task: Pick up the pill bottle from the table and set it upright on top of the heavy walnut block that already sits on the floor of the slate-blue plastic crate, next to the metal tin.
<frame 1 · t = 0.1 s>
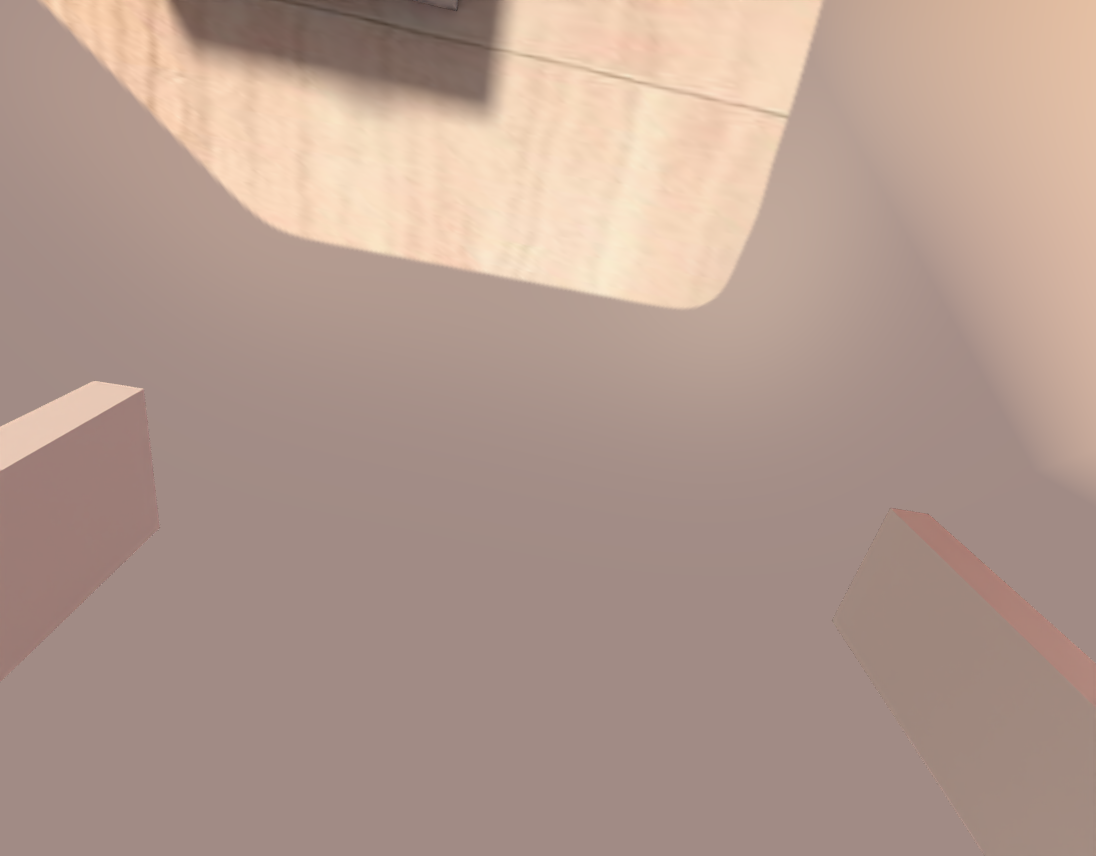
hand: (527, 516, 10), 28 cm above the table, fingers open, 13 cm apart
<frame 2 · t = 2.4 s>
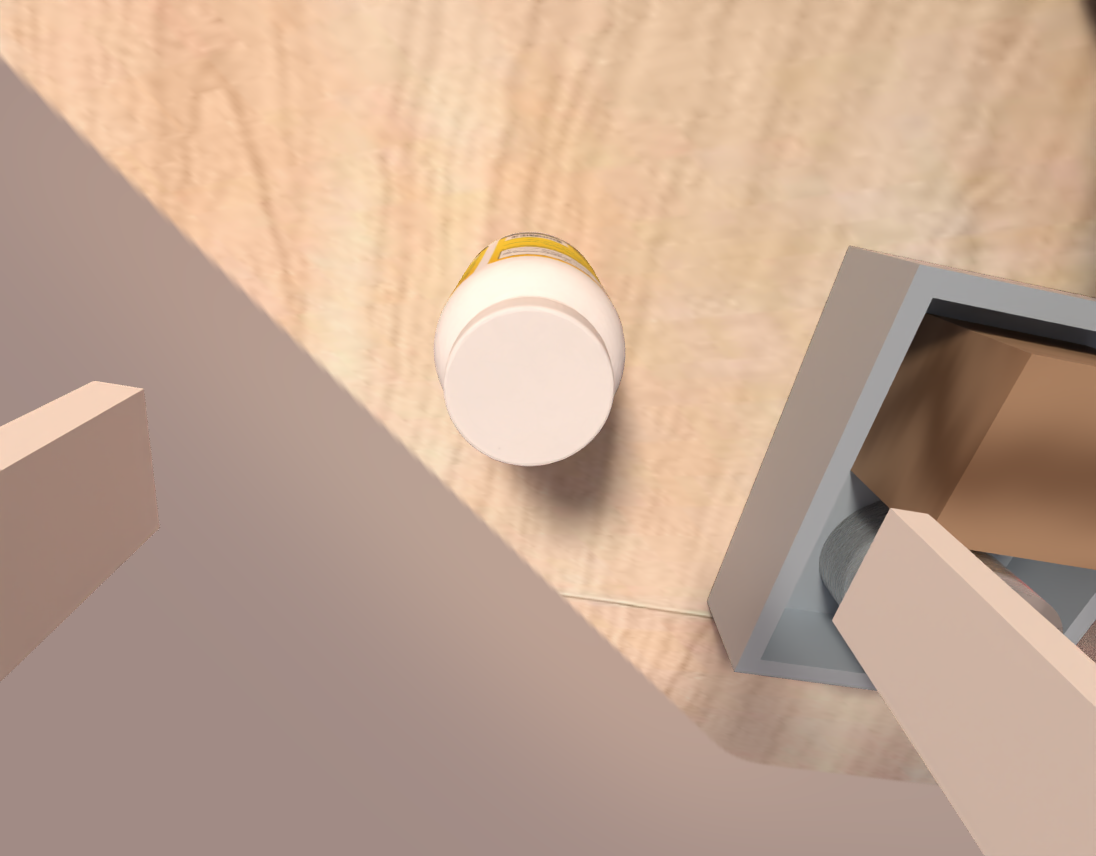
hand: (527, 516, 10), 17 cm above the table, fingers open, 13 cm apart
metal tin: (884, 553, 31), point 1 cm above the table, touching crate
pill bottle: (531, 301, 26), on the table
walnut block: (962, 410, 27), point 1 cm above the table, touching crate
crate: (914, 474, 29), on the table
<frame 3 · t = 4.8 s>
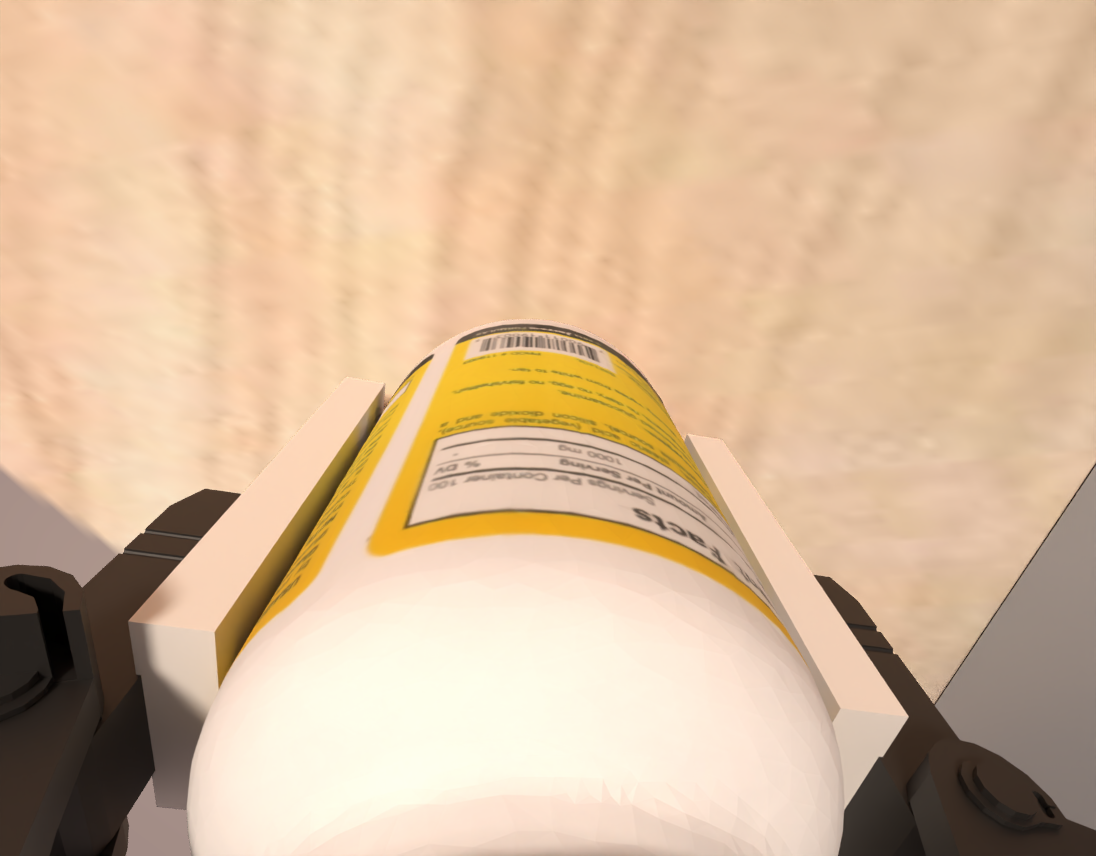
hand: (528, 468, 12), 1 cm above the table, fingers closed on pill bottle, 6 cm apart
pill bottle: (529, 443, 13), on the table, touching gripper
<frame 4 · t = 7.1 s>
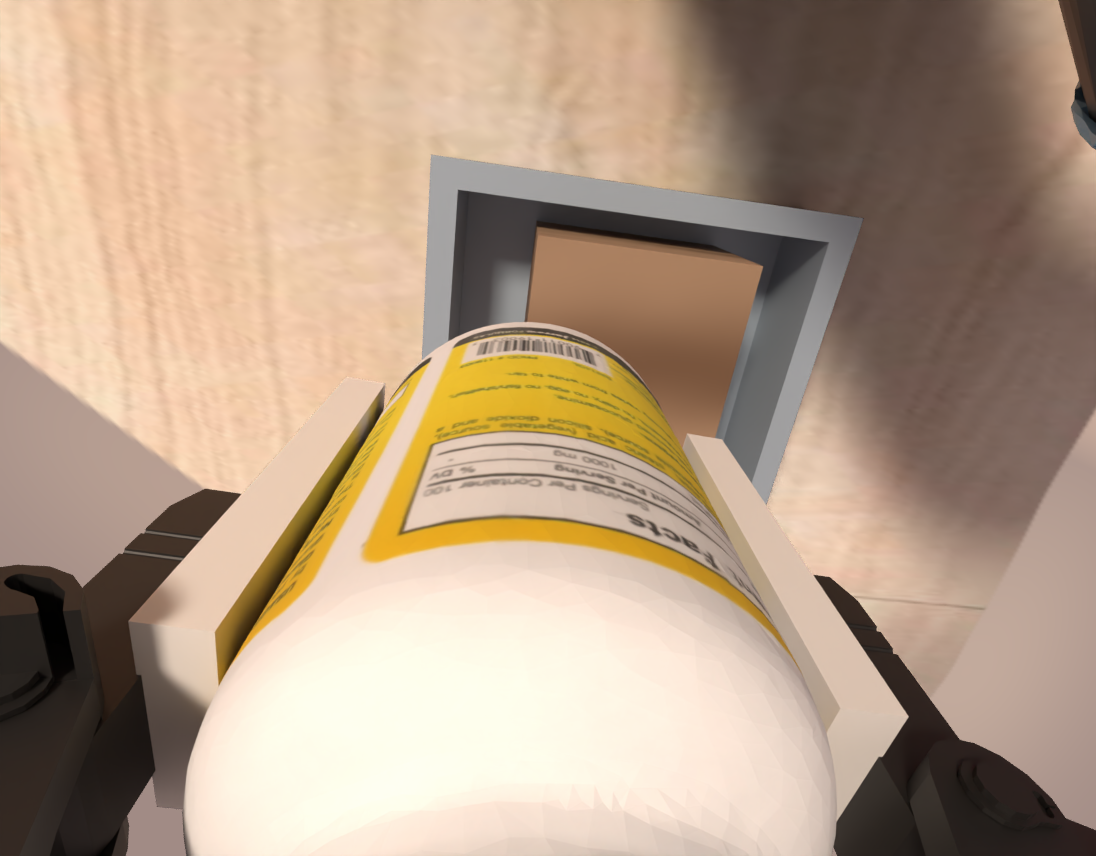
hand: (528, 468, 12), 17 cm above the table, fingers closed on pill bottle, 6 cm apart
pill bottle: (527, 446, 13), point 16 cm above the table, touching gripper
walnut block: (609, 321, 27), point 1 cm above the table, touching crate
crate: (594, 394, 29), on the table
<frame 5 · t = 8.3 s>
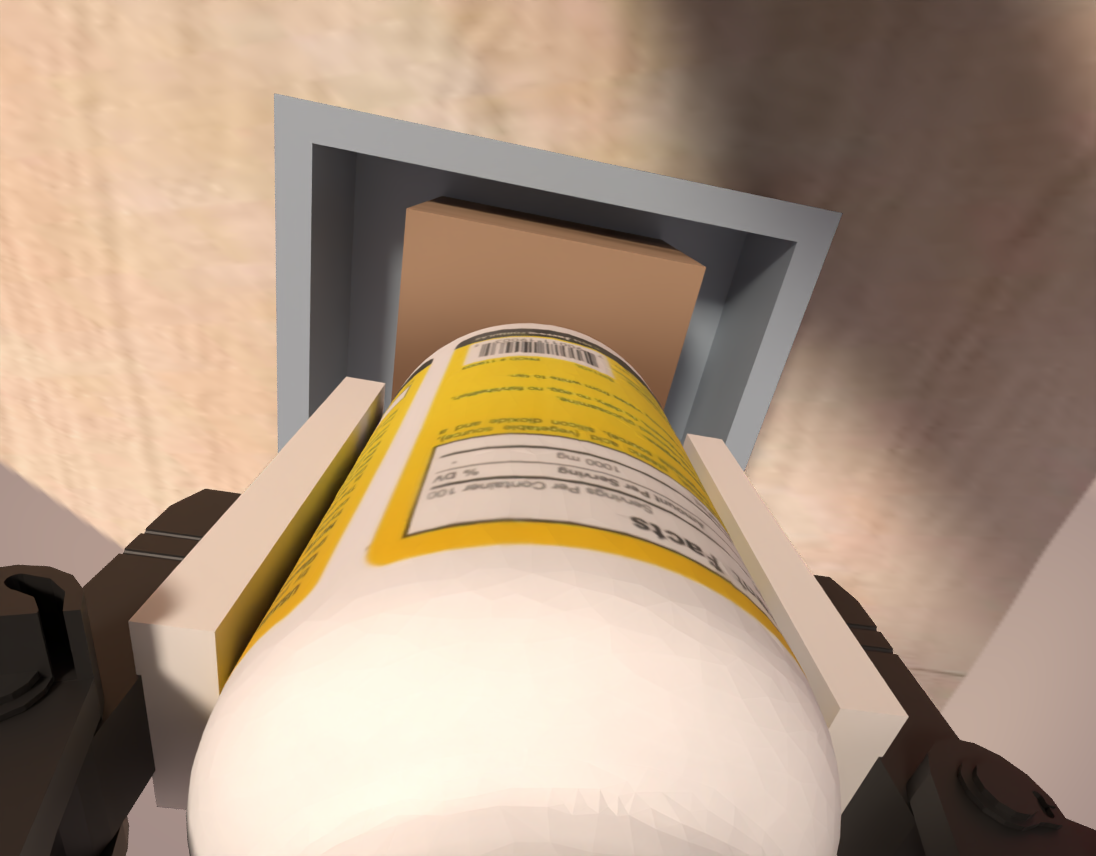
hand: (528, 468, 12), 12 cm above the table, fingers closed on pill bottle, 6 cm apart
pill bottle: (528, 447, 13), point 11 cm above the table, touching gripper
walnut block: (534, 326, 22), point 1 cm above the table, touching crate
crate: (518, 411, 24), on the table
when the fingers open (9 cm above the table, at t = 9.5 s): pill bottle drops 2 cm, resting on walnut block.
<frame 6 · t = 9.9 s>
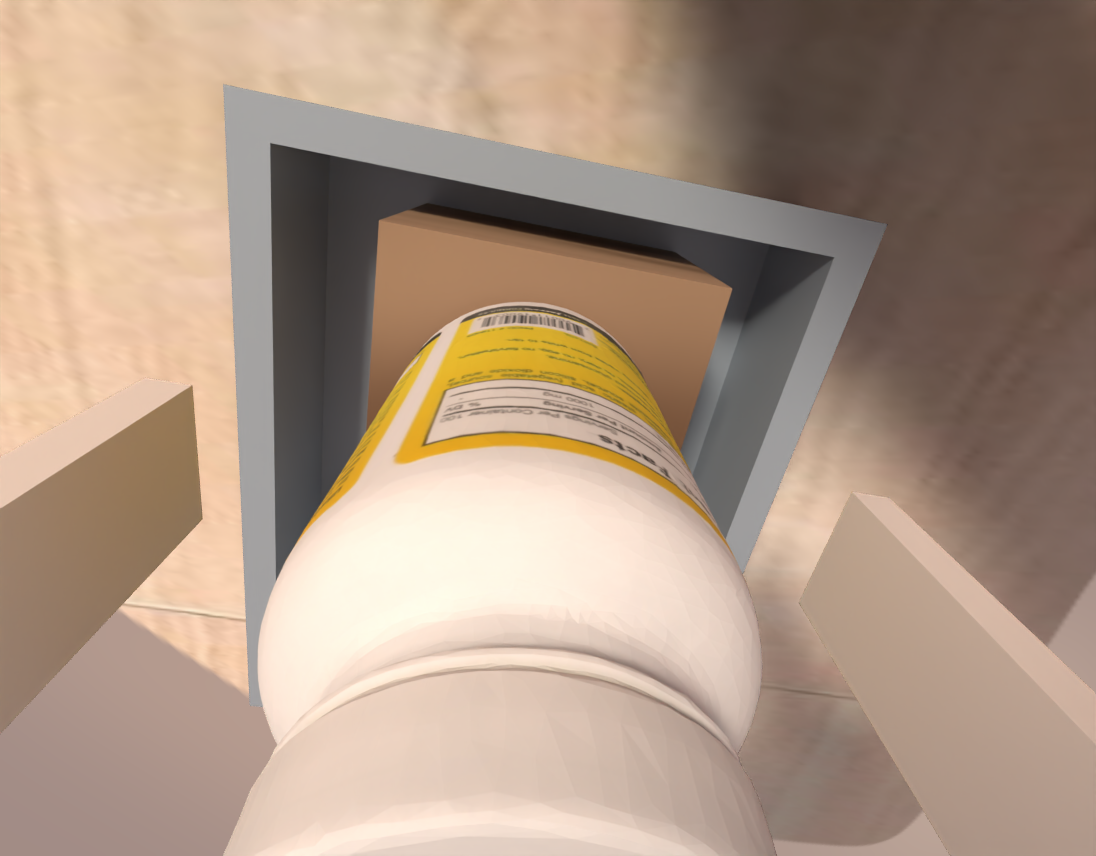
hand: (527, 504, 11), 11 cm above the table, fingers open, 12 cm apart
pill bottle: (526, 415, 14), point 7 cm above the table, touching walnut block
walnut block: (531, 347, 20), point 1 cm above the table, touching crate, pill bottle
crate: (513, 439, 22), on the table
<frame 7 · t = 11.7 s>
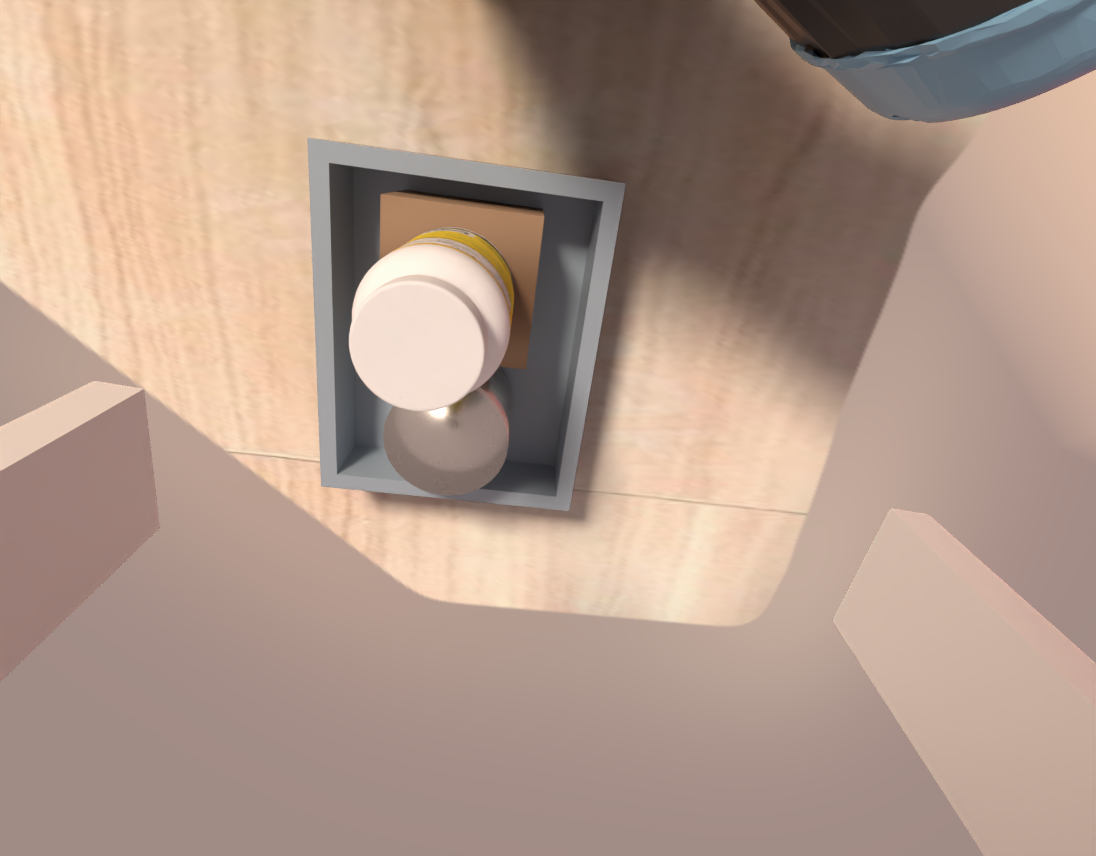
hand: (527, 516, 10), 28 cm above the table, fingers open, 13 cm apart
metal tin: (460, 396, 38), point 1 cm above the table, touching crate
pill bottle: (456, 287, 30), point 7 cm above the table, touching walnut block
walnut block: (470, 268, 35), point 1 cm above the table, touching crate, pill bottle
crate: (466, 328, 37), on the table
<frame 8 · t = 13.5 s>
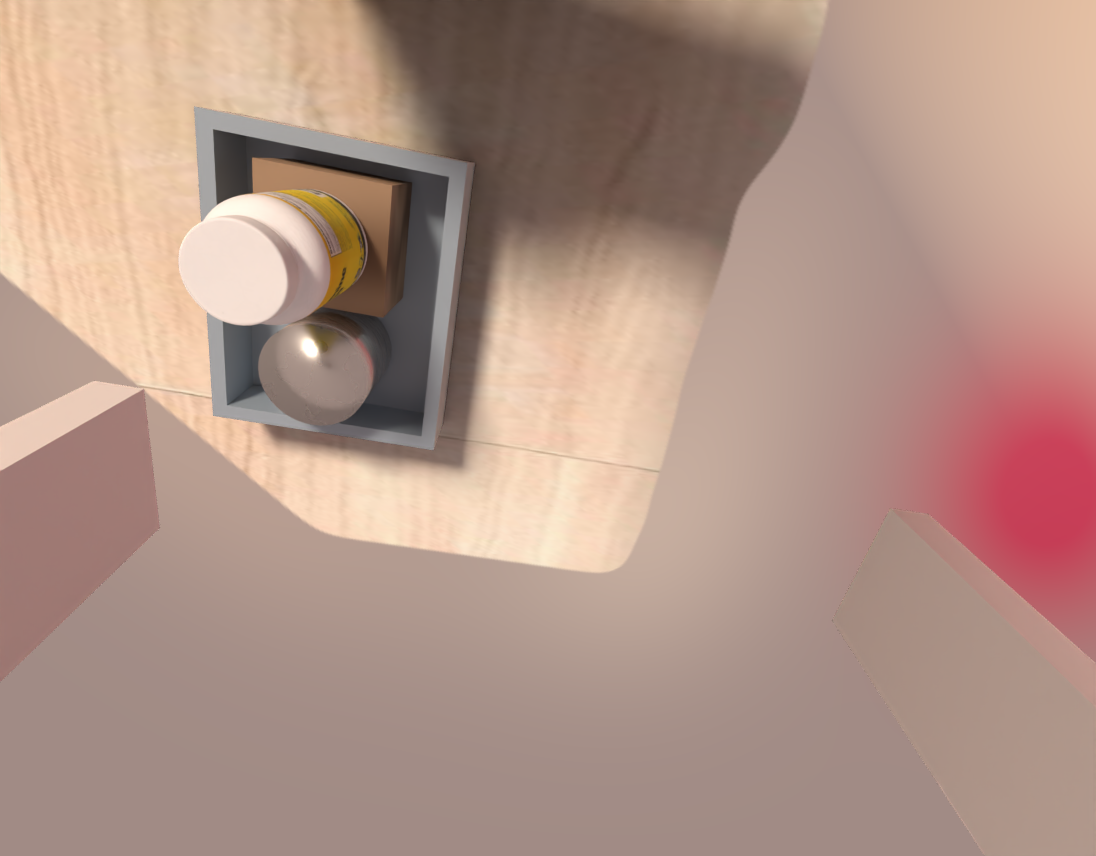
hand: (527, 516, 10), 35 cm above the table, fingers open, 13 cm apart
metal tin: (345, 346, 44), point 1 cm above the table, touching crate
pill bottle: (320, 242, 35), point 7 cm above the table, touching walnut block
walnut block: (350, 231, 40), point 1 cm above the table, touching crate, pill bottle
crate: (351, 285, 43), on the table
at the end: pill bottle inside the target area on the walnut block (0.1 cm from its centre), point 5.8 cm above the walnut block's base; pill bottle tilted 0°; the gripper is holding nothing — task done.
